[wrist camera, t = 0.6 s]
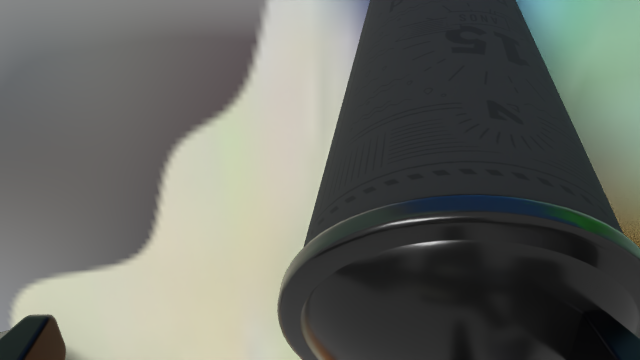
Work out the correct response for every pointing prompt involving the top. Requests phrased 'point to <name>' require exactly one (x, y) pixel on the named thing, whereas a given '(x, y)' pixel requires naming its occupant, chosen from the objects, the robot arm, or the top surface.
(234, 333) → the top surface
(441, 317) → the drinking cup
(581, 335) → the robot arm
